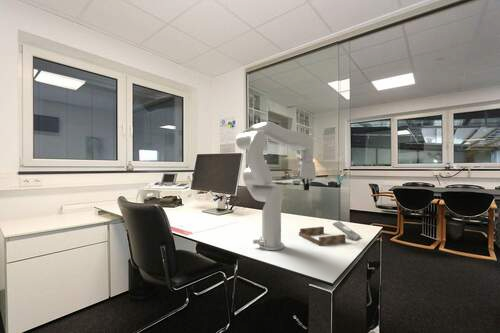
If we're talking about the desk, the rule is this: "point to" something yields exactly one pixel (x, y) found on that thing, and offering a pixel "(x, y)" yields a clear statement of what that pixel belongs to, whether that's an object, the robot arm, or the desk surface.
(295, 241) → the desk surface
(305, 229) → the walnut open frame
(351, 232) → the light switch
